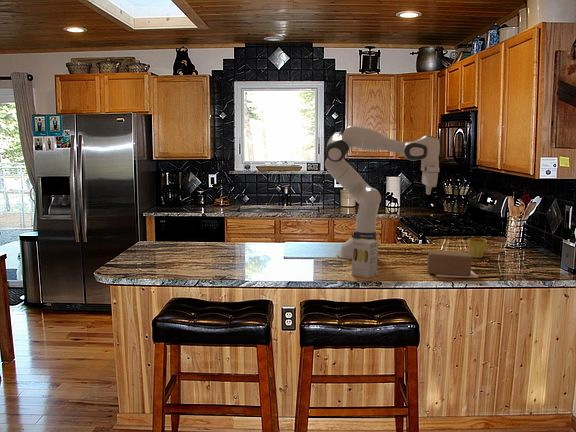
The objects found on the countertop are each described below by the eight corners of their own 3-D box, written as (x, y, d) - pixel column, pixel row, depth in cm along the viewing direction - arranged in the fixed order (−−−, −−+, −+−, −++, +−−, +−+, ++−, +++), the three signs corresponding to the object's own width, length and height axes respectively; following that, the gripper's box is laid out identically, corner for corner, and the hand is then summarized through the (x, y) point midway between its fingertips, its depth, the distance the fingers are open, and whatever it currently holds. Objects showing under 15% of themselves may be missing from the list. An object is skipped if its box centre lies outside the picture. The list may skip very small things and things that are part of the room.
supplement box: (350, 275, 275) (352, 240, 272) (359, 271, 282) (361, 237, 280) (368, 278, 269) (370, 243, 267) (377, 274, 277) (379, 240, 274)
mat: (436, 276, 275) (436, 275, 275) (429, 268, 291) (429, 267, 291) (478, 277, 275) (478, 276, 275) (469, 269, 290) (469, 268, 290)
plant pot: (479, 259, 315) (480, 242, 314) (463, 256, 323) (464, 239, 322) (489, 257, 322) (491, 240, 321) (473, 253, 330) (474, 237, 328)
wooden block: (427, 274, 277) (470, 276, 274) (429, 253, 276) (472, 256, 272) (427, 269, 287) (468, 272, 283) (428, 249, 286) (469, 252, 282)
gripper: (419, 166, 304) (418, 192, 306) (427, 168, 284) (426, 196, 286) (431, 166, 304) (430, 192, 306) (440, 169, 283) (438, 196, 285)
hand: (428, 194), depth 296 cm, fingers closed
